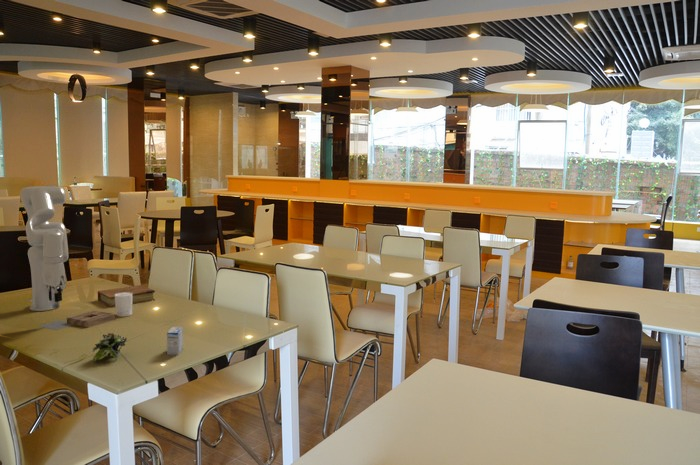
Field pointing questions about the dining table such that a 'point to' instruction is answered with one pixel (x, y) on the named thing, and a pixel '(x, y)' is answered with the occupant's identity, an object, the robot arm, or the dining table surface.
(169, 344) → the medicine box
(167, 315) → the dining table surface
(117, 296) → the white cup
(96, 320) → the hole block
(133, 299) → the diary
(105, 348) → the green leafy plant
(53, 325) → the mat
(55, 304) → the peg
